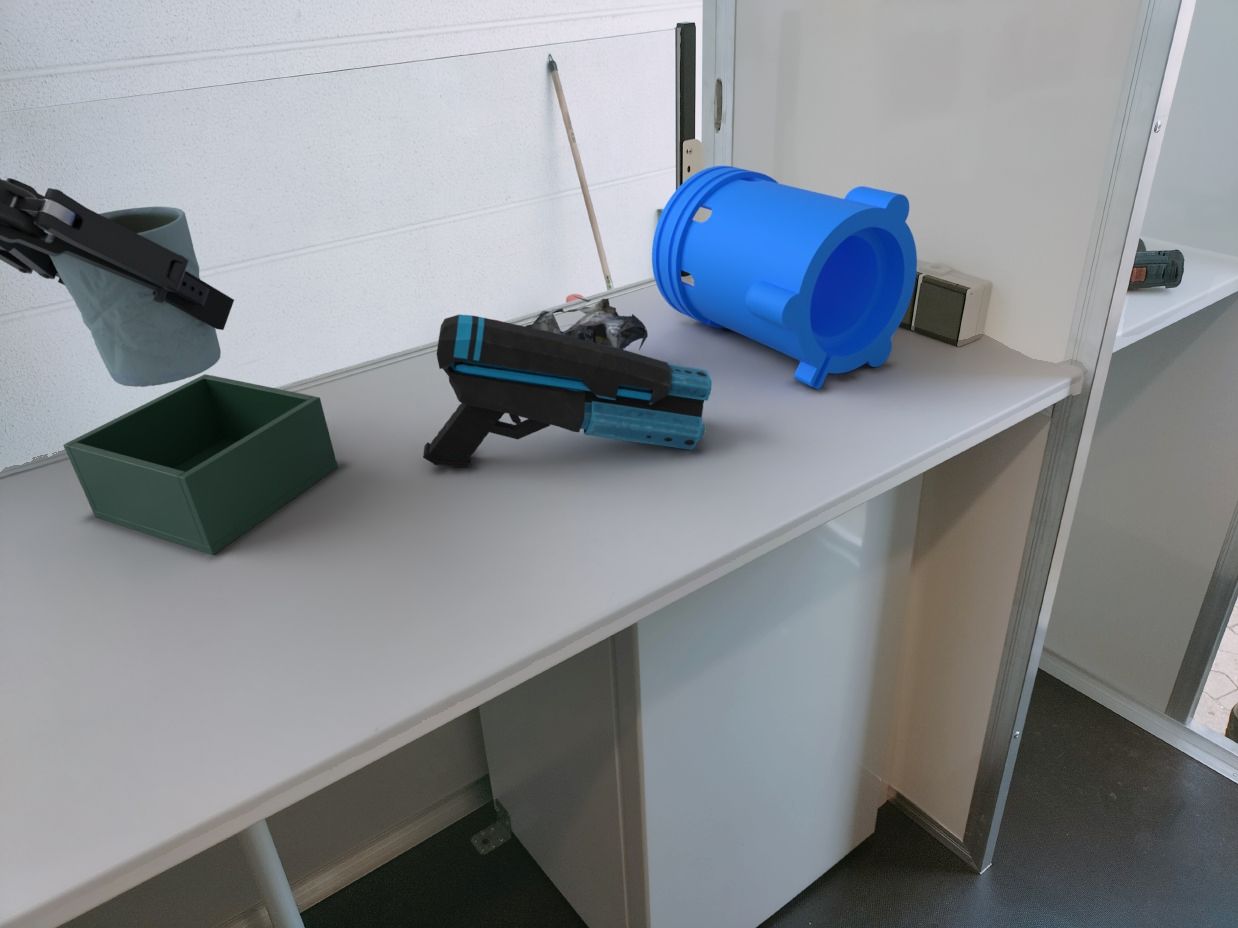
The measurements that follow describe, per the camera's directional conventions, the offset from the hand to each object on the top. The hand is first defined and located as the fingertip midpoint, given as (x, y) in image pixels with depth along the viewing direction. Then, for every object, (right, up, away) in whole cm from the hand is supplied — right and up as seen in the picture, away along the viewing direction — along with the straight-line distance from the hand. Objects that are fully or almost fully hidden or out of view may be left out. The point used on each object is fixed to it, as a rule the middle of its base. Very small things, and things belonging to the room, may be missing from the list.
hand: (179, 308), depth 72 cm
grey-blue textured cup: (-1, -5, 0) cm, 5 cm away
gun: (+32, -12, +13) cm, 37 cm away
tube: (+56, +1, +33) cm, 65 cm away
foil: (+31, -3, +29) cm, 43 cm away
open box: (-1, -16, +10) cm, 19 cm away
